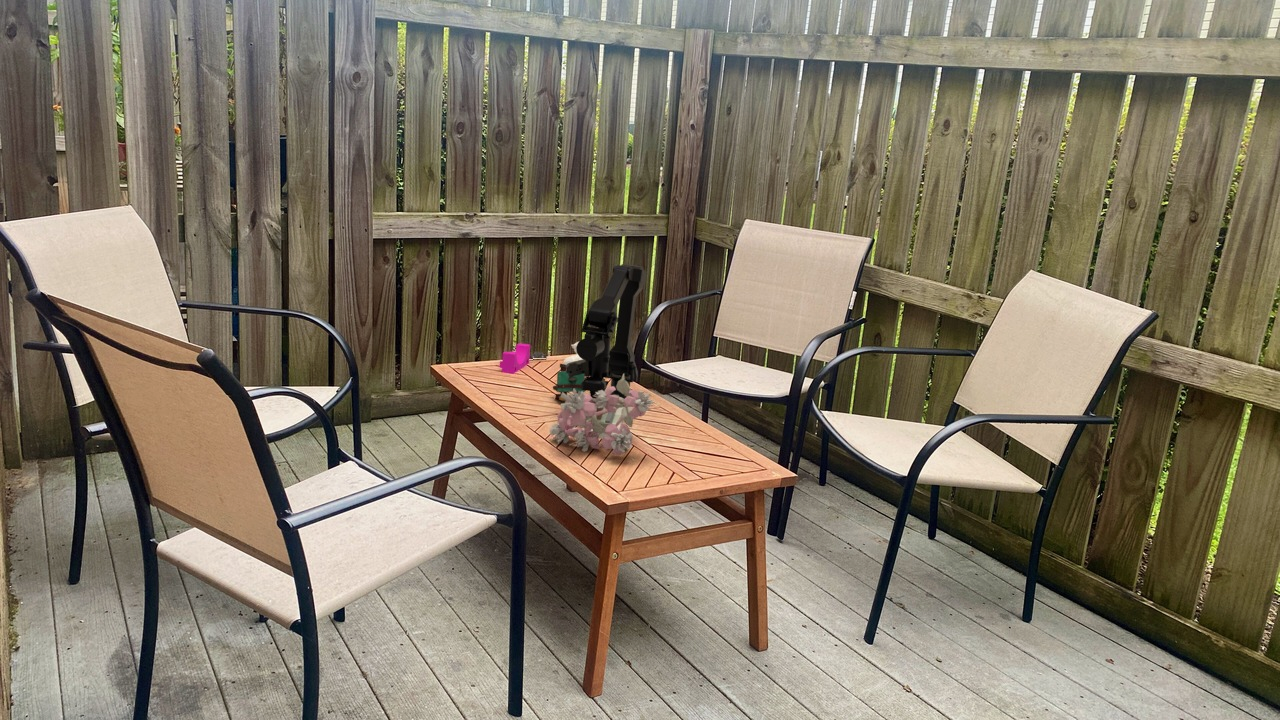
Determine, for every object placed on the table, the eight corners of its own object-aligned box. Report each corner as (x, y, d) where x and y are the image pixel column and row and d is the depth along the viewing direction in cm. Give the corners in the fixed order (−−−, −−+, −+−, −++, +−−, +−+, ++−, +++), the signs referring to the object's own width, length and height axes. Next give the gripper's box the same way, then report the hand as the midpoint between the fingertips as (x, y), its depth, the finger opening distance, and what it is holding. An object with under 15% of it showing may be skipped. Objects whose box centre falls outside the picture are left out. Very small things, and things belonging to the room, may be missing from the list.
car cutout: (532, 368, 316) (532, 354, 315) (523, 362, 321) (524, 349, 320) (573, 365, 323) (574, 352, 322) (565, 360, 329) (566, 347, 328)
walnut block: (584, 412, 265) (585, 398, 264) (602, 414, 264) (603, 400, 263) (582, 418, 260) (583, 403, 259) (600, 420, 259) (601, 405, 258)
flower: (671, 455, 248) (597, 491, 232) (613, 409, 260) (539, 440, 245) (685, 391, 237) (607, 424, 221) (624, 346, 249) (547, 375, 234)
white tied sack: (567, 380, 303) (569, 344, 301) (559, 373, 310) (561, 339, 307) (602, 378, 308) (605, 344, 305) (594, 372, 315) (596, 338, 312)
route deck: (569, 407, 275) (570, 390, 274) (625, 412, 275) (627, 395, 273) (555, 434, 251) (556, 415, 250) (617, 440, 250) (618, 422, 249)
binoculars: (579, 366, 286) (588, 362, 276) (579, 402, 285) (588, 400, 275) (549, 366, 283) (557, 362, 274) (549, 402, 282) (558, 400, 273)
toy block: (510, 364, 316) (512, 342, 315) (528, 367, 315) (530, 344, 313) (493, 375, 302) (495, 351, 300) (513, 378, 301) (514, 354, 299)
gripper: (574, 341, 272) (570, 395, 275) (564, 357, 253) (560, 414, 257) (613, 345, 271) (609, 399, 275) (606, 361, 253) (601, 419, 257)
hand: (594, 407), depth 266 cm, fingers closed
